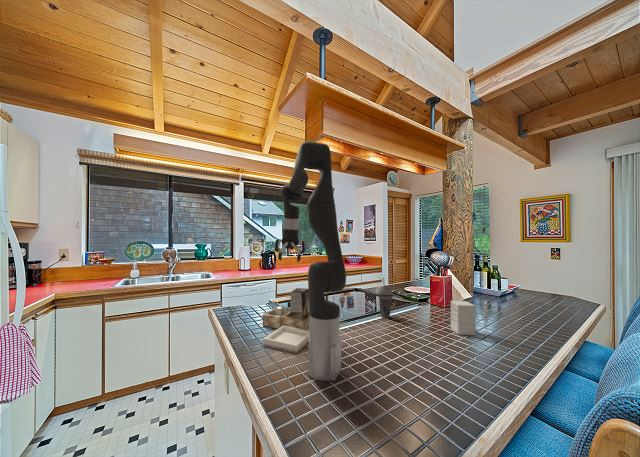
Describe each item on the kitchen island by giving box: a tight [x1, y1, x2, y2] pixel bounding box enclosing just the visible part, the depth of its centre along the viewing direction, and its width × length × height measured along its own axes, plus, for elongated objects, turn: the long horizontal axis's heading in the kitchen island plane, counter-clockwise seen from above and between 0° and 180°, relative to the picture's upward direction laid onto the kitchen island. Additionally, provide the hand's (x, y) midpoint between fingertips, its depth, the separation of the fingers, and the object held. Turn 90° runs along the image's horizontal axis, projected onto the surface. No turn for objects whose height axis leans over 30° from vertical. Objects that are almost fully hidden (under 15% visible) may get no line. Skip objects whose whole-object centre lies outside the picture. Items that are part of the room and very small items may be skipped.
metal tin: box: [274, 305, 287, 316], centre depth 114 cm, size 5×5×7 cm
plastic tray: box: [262, 326, 309, 354], centre depth 93 cm, size 14×14×2 cm
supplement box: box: [450, 300, 477, 336], centre depth 107 cm, size 7×7×13 cm
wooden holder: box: [262, 306, 309, 330], centre depth 112 cm, size 21×14×5 cm, turn 67°
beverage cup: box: [377, 277, 393, 319], centre depth 124 cm, size 7×7×20 cm
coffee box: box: [289, 287, 309, 320], centre depth 110 cm, size 9×6×16 cm
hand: (289, 261), depth 117 cm, fingers open, 8 cm apart
